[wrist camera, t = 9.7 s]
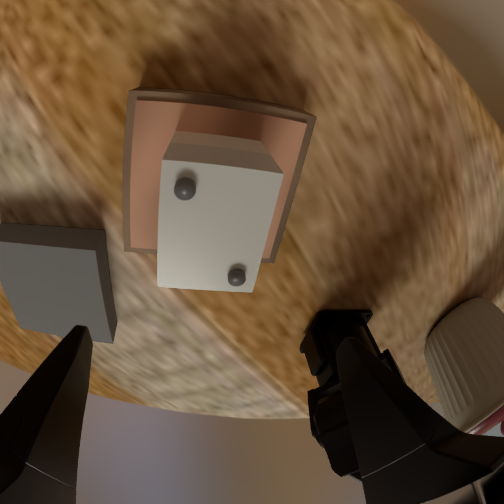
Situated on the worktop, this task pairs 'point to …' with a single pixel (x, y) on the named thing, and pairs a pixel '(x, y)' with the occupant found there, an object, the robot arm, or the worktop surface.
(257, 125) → the brown square tray
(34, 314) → the slate stand
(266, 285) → the worktop surface
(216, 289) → the two-plate housing
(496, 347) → the canister
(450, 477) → the robot arm
